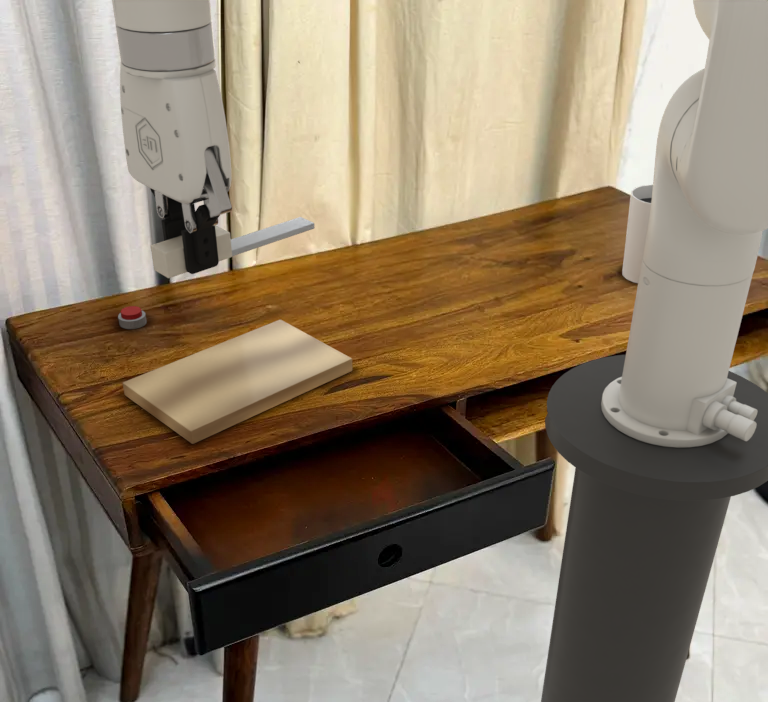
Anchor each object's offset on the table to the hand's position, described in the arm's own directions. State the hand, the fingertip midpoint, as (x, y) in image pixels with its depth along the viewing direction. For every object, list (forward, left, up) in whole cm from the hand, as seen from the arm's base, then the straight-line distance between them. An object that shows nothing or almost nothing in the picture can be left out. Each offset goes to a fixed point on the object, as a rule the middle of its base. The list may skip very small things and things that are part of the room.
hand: (192, 262), depth 90 cm
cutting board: (0, -4, -14) cm, 15 cm away
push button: (+19, -3, -14) cm, 24 cm away
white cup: (-13, -56, -14) cm, 59 cm away
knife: (0, -5, 0) cm, 5 cm away
